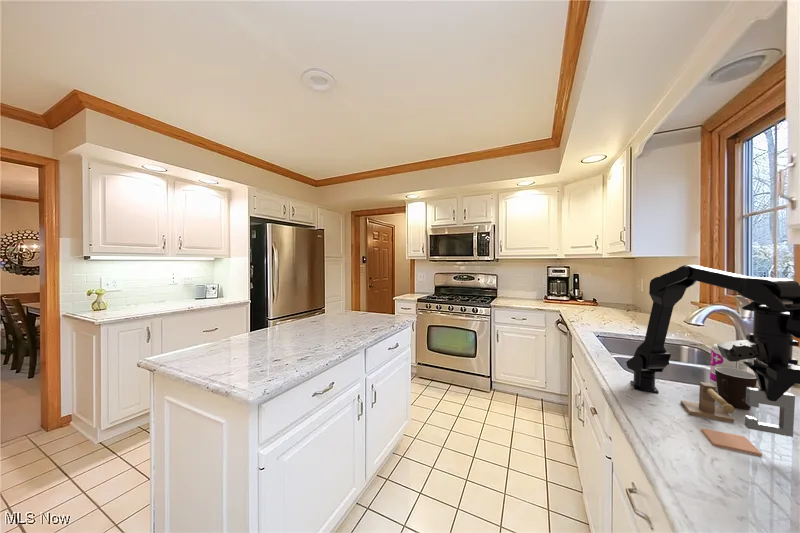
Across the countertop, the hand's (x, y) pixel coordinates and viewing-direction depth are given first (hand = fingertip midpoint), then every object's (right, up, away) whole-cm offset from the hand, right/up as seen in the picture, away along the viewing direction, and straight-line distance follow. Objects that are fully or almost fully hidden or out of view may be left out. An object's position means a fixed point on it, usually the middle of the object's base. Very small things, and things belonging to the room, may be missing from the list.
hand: (769, 399), depth 68 cm
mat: (-5, -13, +4) cm, 14 cm away
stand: (+1, -12, +13) cm, 18 cm away
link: (0, -8, 0) cm, 8 cm away
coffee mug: (+15, -12, +22) cm, 29 cm away
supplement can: (+24, -11, +30) cm, 41 cm away
